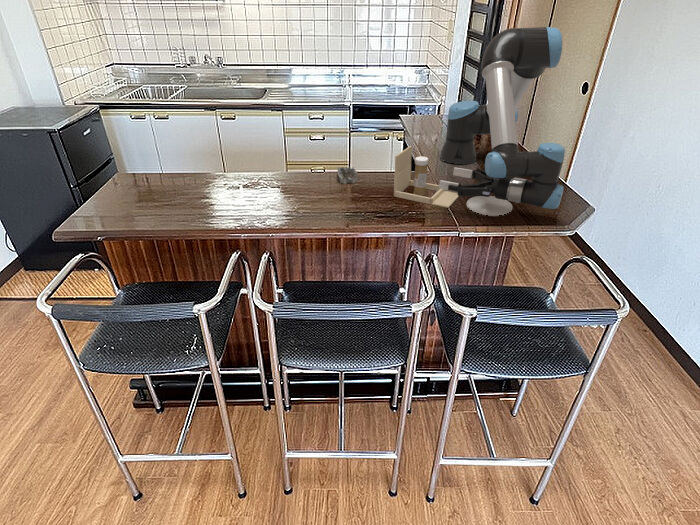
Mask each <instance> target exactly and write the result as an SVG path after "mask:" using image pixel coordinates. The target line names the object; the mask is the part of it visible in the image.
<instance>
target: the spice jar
mask: <svg viewBox="0 0 700 525" xmlns="http://www.w3.org/2000/svg"><path fill="white" fill-rule="evenodd" d="M428 164H429V158H428V157H427V156H417V157H415V158H414V165H415V166H414V175H413V176H414V178H413V180H414V186H413V192H412V194H414V195H419V196H425V195H426V190H427V189H426V183H427V178H428V176H427V175H428Z"/></svg>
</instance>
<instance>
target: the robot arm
mask: <svg viewBox="0 0 700 525" xmlns="http://www.w3.org/2000/svg"><path fill="white" fill-rule="evenodd" d="M562 50H563V35H562V32H561V30H560V29H559V28H557V27H552V26H551V27H550V26H541V27H537V26H535V27H519V28H517V27H510V28H507V29H504V30H502V31H500V32H498V33H497V34H496V35H495V36H494V37H493V38H492V39H491V40H490V42H489V43H488V45H487V46H486V48H485V50H484V53H483V56H482V60H481V66H480V68H481V70H480V71H481V76H482V78H483V79H484V80H485V88H486V98H487V104H480V103H479V102H478V101H476V100H462V101H458V102H455V103H453V104H451V105H450V106H449V109H448V113H447V125H446V134H445V135H446V136H445V141H444V144H443V146H442V150H440V155H439V159H440V158H441V159H442V160H444V161H446V162H449V163H448V164H450V163H454V164H453V165H457V164H463V165H469V164H472V163H474V162H476V158H477V152H476V148H475V136H476V135H478V136H479V135H490V142H491V143H490V145H491V152H488V153H487V155H486V156H485V160H484V169H481V168H476V169H467V168H462V167H454V168H453V173H452V175H453V176H456V177H461V178H467V179H472V180H476V181H477V182H476V183H468V184H462V183H460V182H459V183H458V182H452V181H448V180H442V179H440V180H439V183H438V185H439V189H444V190H445V191H450V192H455V193H458V196H459V197H476V196H484V197H489V196H490V194H494V196H495V198H497V199H502V200H507V201H509V202H513V203H515V204H523V205H524V204H525V205H530V206H534V207H538V208H541V209H542V208H543V209H551V210H556V209H558V208H559V206H560V203H561V200H562V197H563V193H564V189H565V187H564V185H561V184H560V183H559V178H560V175H561V170H562V167H563V164H564V160H565V154H566V149H565V146H564V145H562V144H559V143H556V142H543V143H542V142H541V143H540V144H539V145H538V146H537V149H536V151H532V150H531V151H519V145H518V133H517V132H518V131H517V121H518V117H519V115H518V114H519V112H518V108H517V106H518V104H519V102H520V101H521V100H522V99H523V97H524V95H525V93H526V91H527V90H528V88H529V87H530V85H531V84H532V82H533V81H534V79H538V78H539V77H540V76H542V75H543V74H544V72H545V70H546V69H552V68H556V67H557V66H558V65H559V63H560V60H561V57H562V53H563V51H562ZM441 159H440V160H441ZM442 160H441V161H442ZM444 161H443V162H444ZM446 162H445V163H446ZM525 178H531V180H530V179H525Z"/></svg>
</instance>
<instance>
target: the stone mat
mask: <svg viewBox="0 0 700 525" xmlns="http://www.w3.org/2000/svg"><path fill="white" fill-rule="evenodd" d="M466 207H467V209H468V208H469V209H468V210H469V211H471V210H472V211H471V212H473V213H475V212H476V213H475V214H477V213H479V214H478V215H481V214H482V216H486V215H488V216H487V217H500V216H499V215H502V216H505V215H504V214H506V215H508V214H510V213H511V212H512V211H513V204H512V203H511V201H509V200H508V199H507V200H502V199H497V198H495V195H494V196H493V195H489V197H484V196H471V197H470V198H469V199H468V200H467V201H466ZM509 212H510V213H509ZM507 213H508V214H507Z"/></svg>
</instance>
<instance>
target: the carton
mask: <svg viewBox="0 0 700 525" xmlns="http://www.w3.org/2000/svg"><path fill="white" fill-rule="evenodd" d="M412 152H413V146H412V145H409V146H407V147H406V148H405V149H403V150H401V151H400V152H399V153H398V154H396V155H395V156H394V175H393V177H394V178H393V180H394V181H393V197H396V198H399V199H400V198H401V199H405V200H408V201H413V202H418V203H422V204H428V205H432V206H437V207H442V208H446V209H449V208H450V207H451V205H453V203H454V202H455V201H457V199H458V198H459V197H460V196H458V192H454V191H449V190H444V189H439V184H435V183H429V182H426V189H425V190H430V191H431V190H432V191H435V193H434V194H433V195H432V196H431V197H429V196H425V195H423V196H419V195H414V194H413V193H409V192H406V191H405V190H406V189H407V188H408V187H409V186H410V187H414V179H412V178H411V176H412V156H413V155H412V154H413V153H412ZM404 191H405V192H404Z"/></svg>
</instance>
